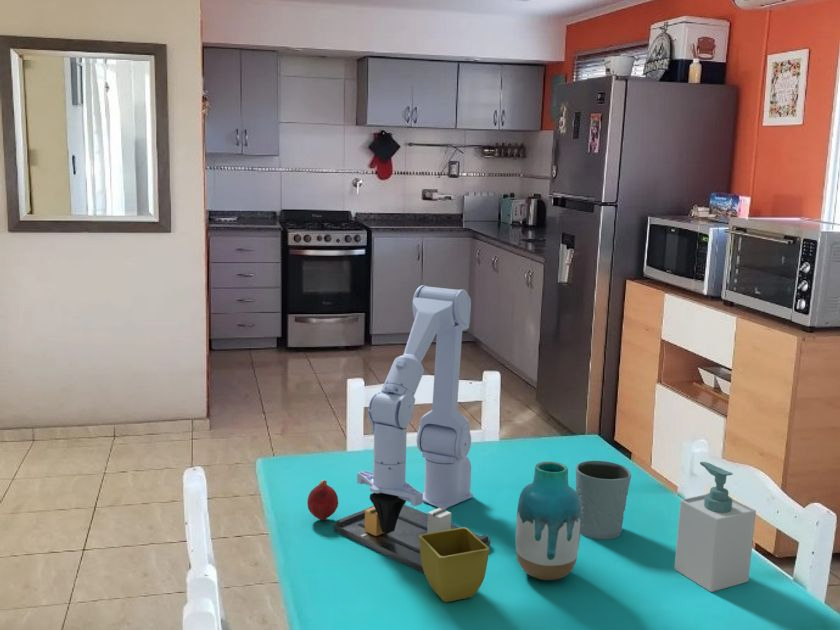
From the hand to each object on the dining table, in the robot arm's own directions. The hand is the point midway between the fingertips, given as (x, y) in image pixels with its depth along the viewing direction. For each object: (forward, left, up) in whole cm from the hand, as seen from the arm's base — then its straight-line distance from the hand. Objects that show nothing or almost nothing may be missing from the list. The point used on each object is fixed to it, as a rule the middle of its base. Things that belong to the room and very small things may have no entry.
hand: (388, 531), depth 156 cm
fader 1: (0, -3, -1) cm, 3 cm away
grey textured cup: (-33, +23, -3) cm, 41 cm away
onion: (+2, -16, -3) cm, 16 cm away
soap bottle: (-31, +46, -3) cm, 56 cm away
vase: (-11, +26, -3) cm, 29 cm away
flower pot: (+5, +19, -3) cm, 20 cm away
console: (-4, +1, -2) cm, 5 cm away
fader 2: (-7, +5, -1) cm, 9 cm away
